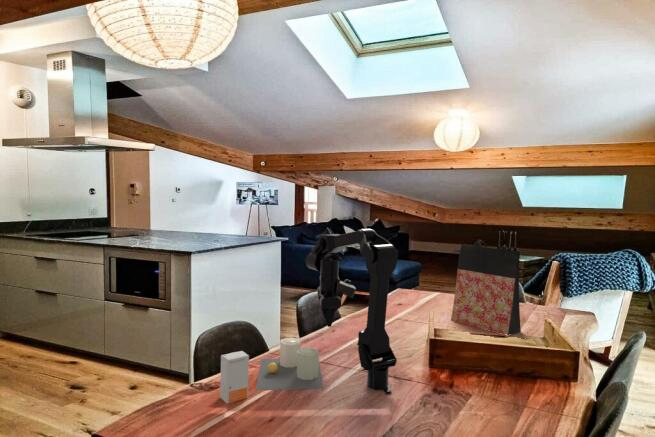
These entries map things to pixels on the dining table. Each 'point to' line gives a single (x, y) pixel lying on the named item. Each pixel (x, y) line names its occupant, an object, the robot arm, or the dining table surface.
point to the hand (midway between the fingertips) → (328, 322)
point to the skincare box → (234, 376)
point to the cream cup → (289, 352)
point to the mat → (284, 378)
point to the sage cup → (307, 363)
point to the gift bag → (487, 288)
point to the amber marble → (272, 367)
